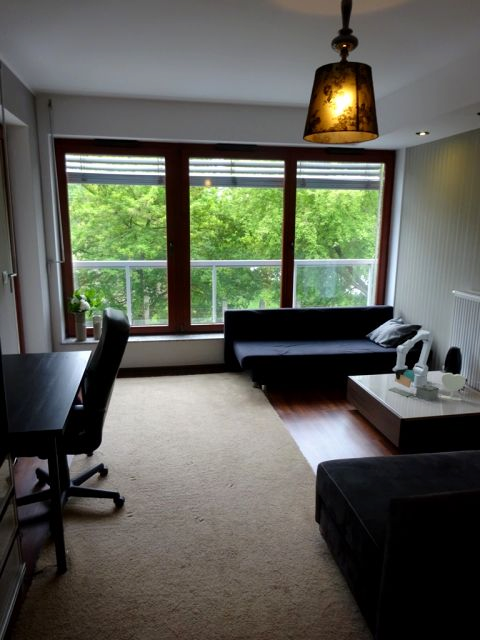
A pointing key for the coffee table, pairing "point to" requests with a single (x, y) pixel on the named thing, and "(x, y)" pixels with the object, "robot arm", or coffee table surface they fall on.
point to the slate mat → (400, 392)
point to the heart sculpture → (453, 383)
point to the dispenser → (427, 392)
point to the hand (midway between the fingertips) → (398, 379)
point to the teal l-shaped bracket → (410, 375)
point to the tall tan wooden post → (404, 381)
